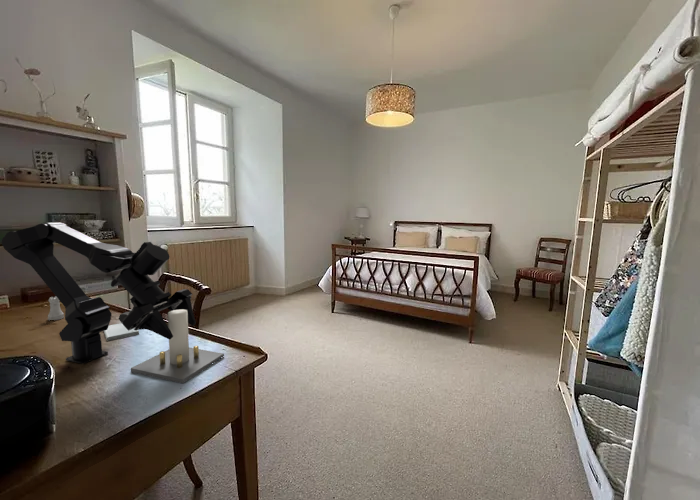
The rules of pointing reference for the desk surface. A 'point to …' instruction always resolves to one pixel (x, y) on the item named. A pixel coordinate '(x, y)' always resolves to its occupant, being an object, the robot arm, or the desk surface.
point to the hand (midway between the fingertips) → (183, 331)
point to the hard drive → (118, 332)
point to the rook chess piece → (55, 309)
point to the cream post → (178, 335)
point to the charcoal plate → (177, 365)
